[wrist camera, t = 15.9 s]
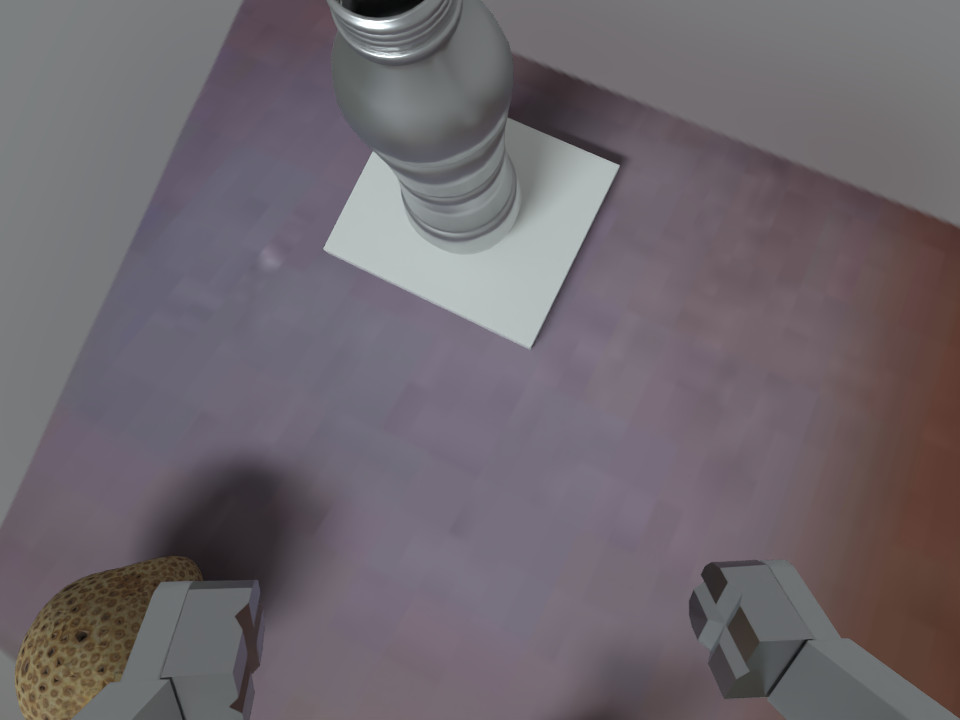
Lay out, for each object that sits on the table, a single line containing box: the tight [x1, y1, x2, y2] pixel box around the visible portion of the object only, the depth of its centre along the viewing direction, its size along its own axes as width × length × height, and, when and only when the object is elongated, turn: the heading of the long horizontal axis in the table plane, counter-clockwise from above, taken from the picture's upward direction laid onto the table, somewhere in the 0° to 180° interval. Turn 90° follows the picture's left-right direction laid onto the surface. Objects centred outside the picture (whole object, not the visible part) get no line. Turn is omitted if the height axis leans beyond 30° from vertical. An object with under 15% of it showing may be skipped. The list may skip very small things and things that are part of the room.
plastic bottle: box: [326, 0, 522, 255], centre depth 26 cm, size 6×7×20 cm
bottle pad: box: [324, 118, 620, 350], centre depth 36 cm, size 14×12×1 cm
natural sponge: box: [15, 556, 204, 720], centre depth 31 cm, size 9×9×10 cm
